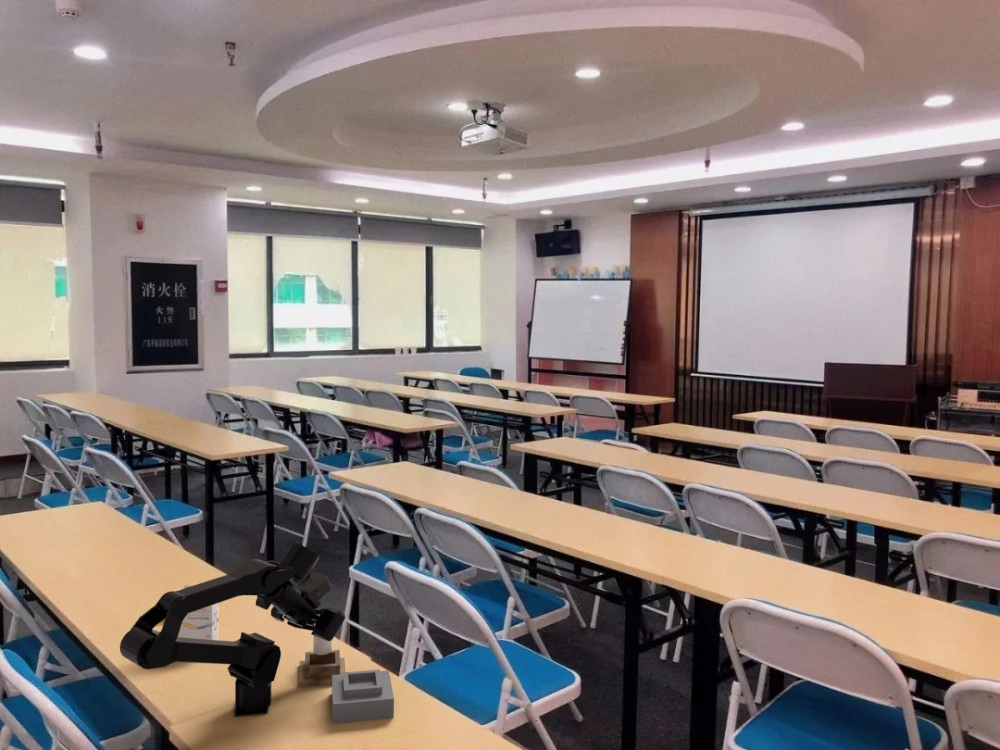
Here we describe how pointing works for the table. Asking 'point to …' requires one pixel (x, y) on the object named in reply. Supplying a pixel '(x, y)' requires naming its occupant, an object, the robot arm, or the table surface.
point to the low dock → (320, 668)
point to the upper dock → (362, 696)
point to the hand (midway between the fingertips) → (327, 632)
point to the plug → (321, 646)
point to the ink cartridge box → (201, 623)
